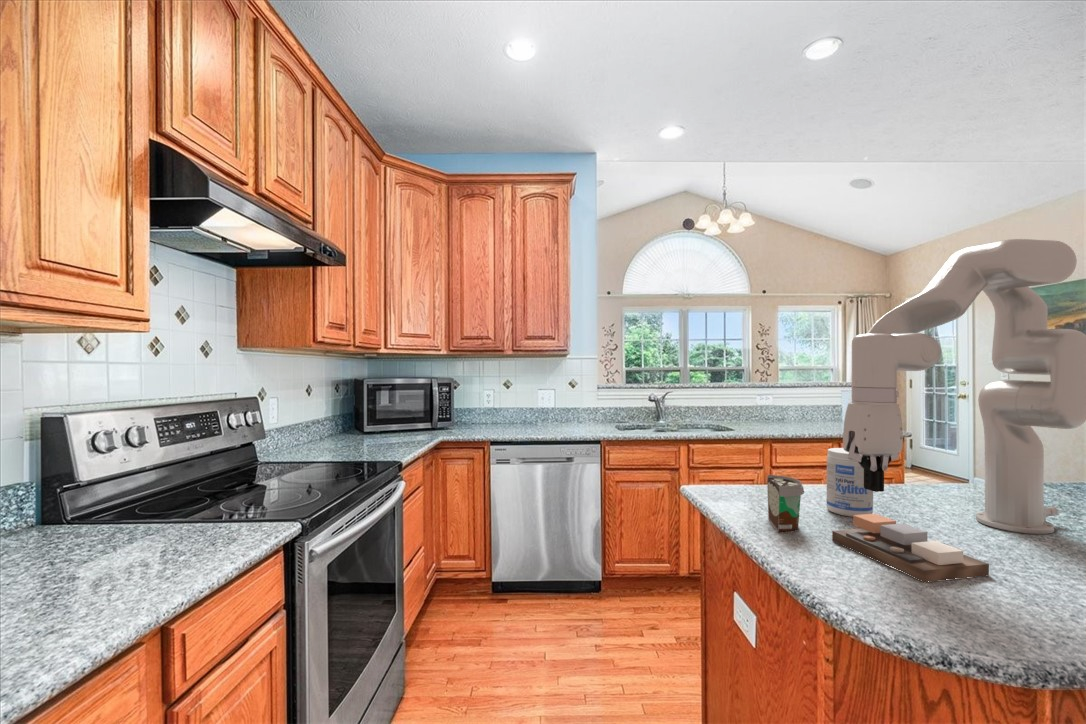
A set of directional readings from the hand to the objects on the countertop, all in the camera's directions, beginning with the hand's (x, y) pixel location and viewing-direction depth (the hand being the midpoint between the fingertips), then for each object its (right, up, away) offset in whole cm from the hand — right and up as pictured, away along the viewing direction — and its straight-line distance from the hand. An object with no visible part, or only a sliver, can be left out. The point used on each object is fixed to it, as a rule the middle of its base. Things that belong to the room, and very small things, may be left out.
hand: (873, 489), depth 101 cm
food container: (-11, -11, +12) cm, 20 cm away
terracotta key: (0, -8, 0) cm, 8 cm away
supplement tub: (+8, -11, +22) cm, 26 cm away
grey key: (+1, -8, -6) cm, 10 cm away
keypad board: (+2, -11, -6) cm, 13 cm away
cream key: (+3, -9, -13) cm, 15 cm away
